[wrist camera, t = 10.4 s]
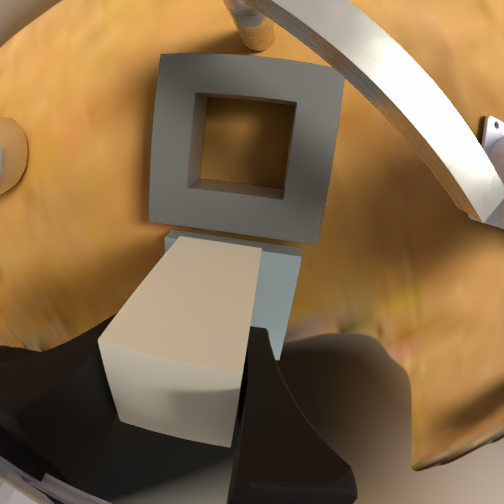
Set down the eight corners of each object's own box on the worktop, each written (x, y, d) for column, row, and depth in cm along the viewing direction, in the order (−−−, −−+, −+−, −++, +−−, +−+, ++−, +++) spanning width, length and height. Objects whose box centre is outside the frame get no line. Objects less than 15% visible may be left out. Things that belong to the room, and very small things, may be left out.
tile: (300, 247, 21) (302, 256, 19) (279, 348, 24) (279, 360, 23) (172, 229, 21) (164, 237, 20) (172, 330, 25) (167, 341, 23)
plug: (262, 248, 14) (242, 372, 7) (251, 317, 16) (230, 447, 9) (179, 236, 15) (97, 339, 7) (178, 304, 16) (120, 421, 9)
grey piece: (235, 39, 15) (189, -38, 6) (256, 18, 15) (232, -72, 5) (390, 175, 18) (479, 227, 8) (409, 154, 17) (510, 189, 8)
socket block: (335, 78, 16) (345, 70, 13) (312, 228, 20) (316, 245, 17) (177, 63, 16) (160, 54, 14) (165, 208, 20) (149, 221, 18)
